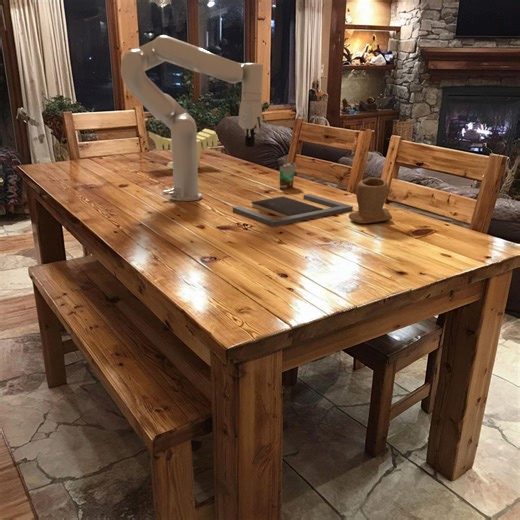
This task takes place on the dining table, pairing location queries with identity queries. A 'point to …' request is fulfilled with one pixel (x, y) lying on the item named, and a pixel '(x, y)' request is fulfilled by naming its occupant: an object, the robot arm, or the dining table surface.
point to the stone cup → (371, 201)
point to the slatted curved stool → (203, 140)
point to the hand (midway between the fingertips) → (249, 146)
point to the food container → (287, 175)
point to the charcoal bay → (300, 217)
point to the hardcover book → (284, 206)
